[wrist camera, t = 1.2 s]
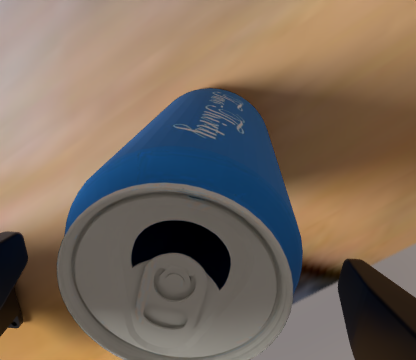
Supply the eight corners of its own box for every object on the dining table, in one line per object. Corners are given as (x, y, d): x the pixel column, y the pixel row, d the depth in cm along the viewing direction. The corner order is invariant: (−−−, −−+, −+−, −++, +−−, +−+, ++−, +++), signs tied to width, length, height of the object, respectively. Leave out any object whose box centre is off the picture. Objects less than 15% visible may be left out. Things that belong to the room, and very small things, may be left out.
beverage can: (284, 104, 17) (365, 215, 6) (248, 205, 20) (260, 408, 9) (168, 72, 17) (41, 128, 6) (148, 178, 20) (35, 351, 9)
